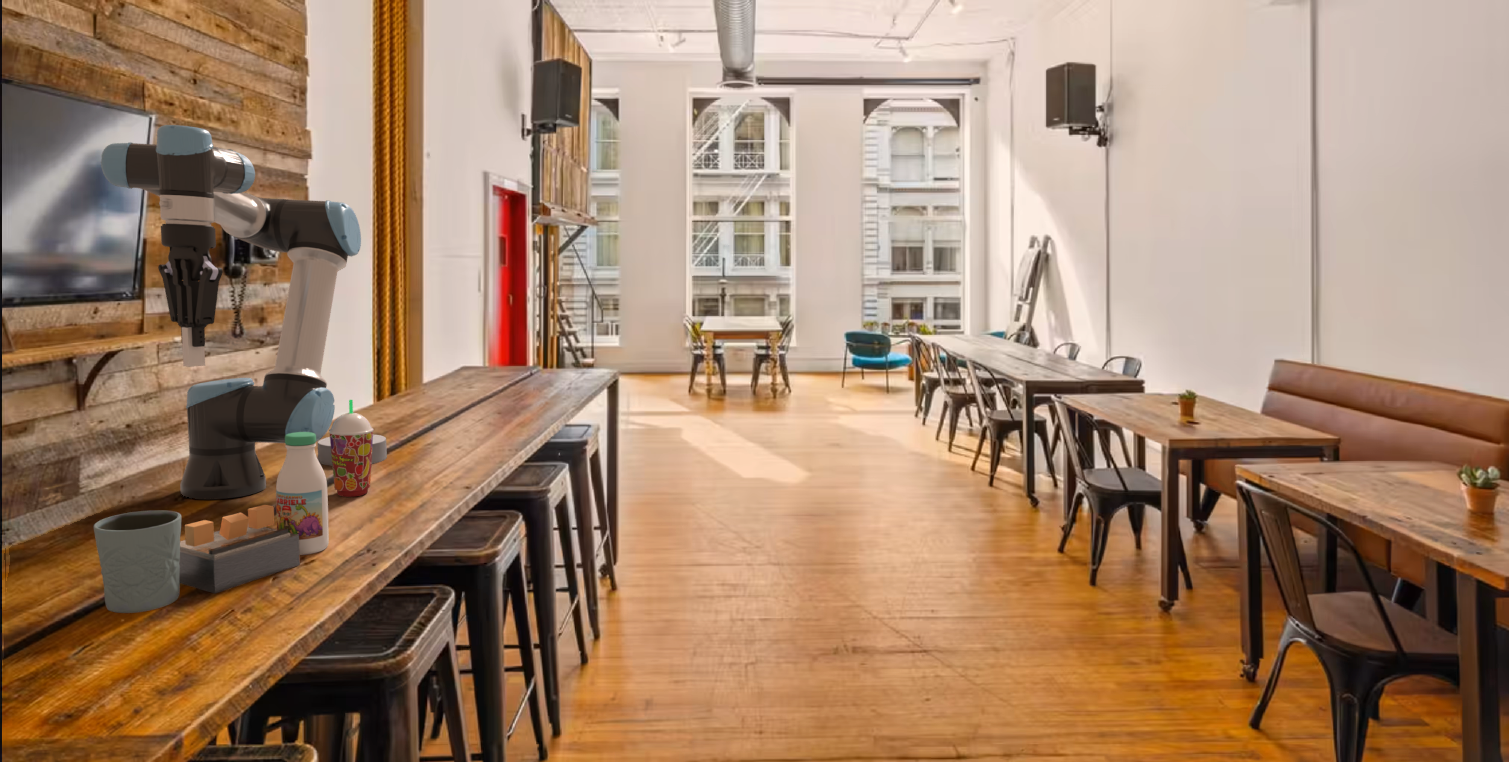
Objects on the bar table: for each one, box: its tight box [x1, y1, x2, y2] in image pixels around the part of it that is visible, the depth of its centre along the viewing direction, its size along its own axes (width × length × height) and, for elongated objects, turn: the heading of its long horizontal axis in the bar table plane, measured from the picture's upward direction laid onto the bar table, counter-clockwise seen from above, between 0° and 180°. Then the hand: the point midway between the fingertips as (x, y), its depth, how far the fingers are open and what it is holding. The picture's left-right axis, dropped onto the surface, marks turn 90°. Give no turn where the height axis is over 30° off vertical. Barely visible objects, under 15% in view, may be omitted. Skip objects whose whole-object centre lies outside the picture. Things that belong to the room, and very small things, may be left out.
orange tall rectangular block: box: [184, 519, 215, 547], centre depth 128 cm, size 2×3×3 cm, turn 156°
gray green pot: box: [93, 509, 182, 614], centre depth 121 cm, size 10×10×12 cm
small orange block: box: [219, 512, 249, 540], centre depth 133 cm, size 2×3×3 cm, turn 158°
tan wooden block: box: [247, 504, 275, 529], centre depth 137 cm, size 2×3×3 cm, turn 156°
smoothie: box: [328, 399, 375, 498], centre depth 178 cm, size 8×8×20 cm
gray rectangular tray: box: [179, 525, 301, 594], centre depth 133 cm, size 12×14×6 cm
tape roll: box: [316, 434, 388, 467], centre depth 209 cm, size 15×15×5 cm
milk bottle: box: [275, 432, 330, 556], centre depth 144 cm, size 8×8×20 cm
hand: (194, 365), depth 143 cm, fingers closed
